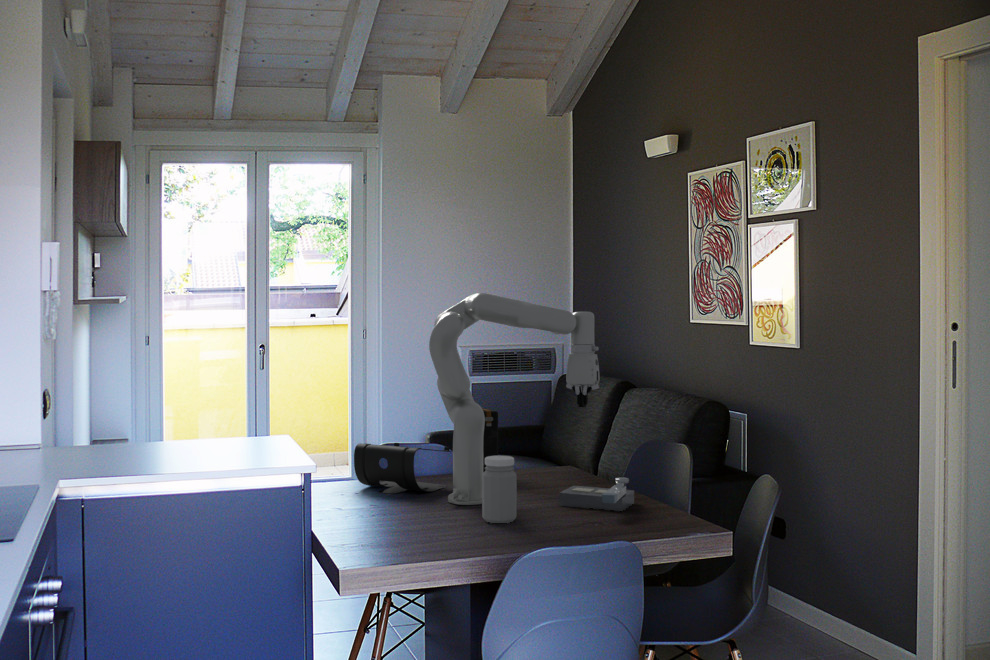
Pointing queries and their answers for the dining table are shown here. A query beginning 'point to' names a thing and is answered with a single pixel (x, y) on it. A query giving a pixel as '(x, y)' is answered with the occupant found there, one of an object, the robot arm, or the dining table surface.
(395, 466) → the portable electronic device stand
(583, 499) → the chassis
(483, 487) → the jar
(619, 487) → the swing arm
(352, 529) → the dining table surface
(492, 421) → the voltmeter
